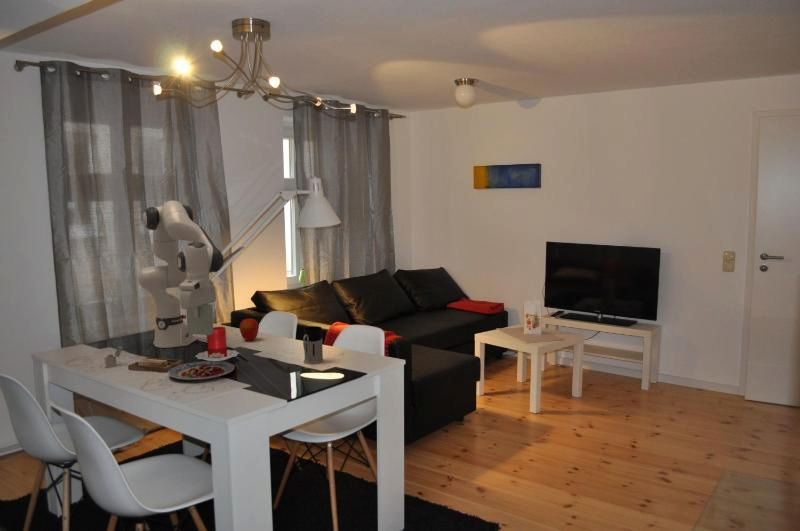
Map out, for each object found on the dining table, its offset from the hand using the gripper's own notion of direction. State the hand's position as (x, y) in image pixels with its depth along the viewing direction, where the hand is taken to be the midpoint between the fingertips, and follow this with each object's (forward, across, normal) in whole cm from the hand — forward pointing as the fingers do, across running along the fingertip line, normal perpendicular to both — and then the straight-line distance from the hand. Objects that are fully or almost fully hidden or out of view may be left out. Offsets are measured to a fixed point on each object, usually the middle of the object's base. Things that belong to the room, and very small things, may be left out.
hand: (199, 316), depth 254 cm
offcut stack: (+24, -2, -25) cm, 34 cm away
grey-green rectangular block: (+7, 0, 0) cm, 7 cm away
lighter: (+24, -1, -44) cm, 50 cm away
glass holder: (+24, -25, +37) cm, 51 cm away
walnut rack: (+24, -4, -25) cm, 34 cm away
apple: (+23, -57, -10) cm, 63 cm away
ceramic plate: (+24, +1, 0) cm, 24 cm away
